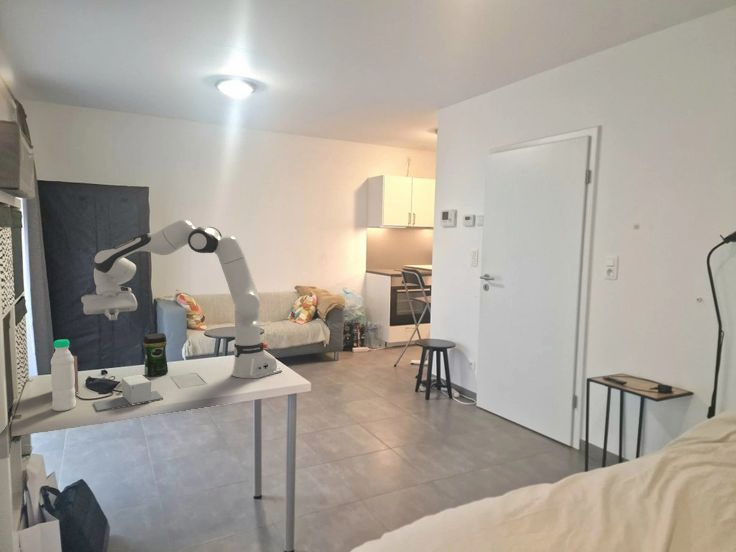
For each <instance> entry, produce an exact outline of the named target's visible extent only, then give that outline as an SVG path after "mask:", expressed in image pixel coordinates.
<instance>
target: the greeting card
mask: <svg viewBox="0 0 736 552" xmlns="http://www.w3.org/2000/svg"><path fill="white" fill-rule="evenodd" d="M72 356H73V358H74V362H73V364H74V373H75V385H74V387H75V392H78V393H77V394H79V375H78V373H79V371H78V356H77V355H72Z"/></svg>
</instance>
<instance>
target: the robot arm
mask: <svg viewBox="0 0 736 552" xmlns="http://www.w3.org/2000/svg"><path fill="white" fill-rule="evenodd" d="M239 242H240V241H239V240H238V239H237V238H236V237H235V236H233V235H225V236H223V235H222V234H221V232H220V230H218V228H216V227H213V226H198V227H195V226H194V223H192V222H191V221H189V220H187V219H180V220H177V221H175V222H172V223H170V224H168V225H166V226H164V227H163V228H162V229H159V230H157V231H154V232H149V233H141V234H139V235H135V236H134V237H131V238H129V239H127V240H125V241H122V242H120V243H118V244H116V245H114V246H111V247H107V248H104V249H102V250H99V251H98V252H97V253H96V254H95V255H94V257H93V265H94V269H93V279H94V284H95V286H96V287H95V292H96V293H94V294H84V295H83V296H81V297H80V302H81V303H82V304H83V311H82V312H83V314H85V315H97V314H98V315H100V314H104V315H105V317H107V318H108V320H109V321H118V315H119V313H123V312H135V311H136V310H137V309H138V301H137V298H136V296H135V295H134V293H132V288H131V287H127V286H123V284H126V283H128V282H129V281H132V280H133V279H134V278H135V277H136V274H137V270H138V269H137V265H136V264H135V263H134V262H132V261H131V260H129V259H127V258H125V257H128V256H130V255H131V254H135V253H137V252H148V253H152V254H156V255H160V256H168V255H171V254H174V253H175V252H176V251H178V250H180V249H181V248H183V247H185V246H187V245H188V246H189V247H190V249H191V250H192V251H194V252H196V253H200V254H213V253H214V254H215V255H216V256H217V258H218V260H219V264H220V266H221V269H222V272H223V274H224V278H225V280H226V283H227V287H228V290H229V292H230V296H231V298H232V301H233V304H234V344H233V345H234V348H233V354H234V355H233V356H234V361H233V362H234V363H233V368H232V372H231V376H233V377H236V378H242V379H244V378H245V379H247V378H248V379H259V378H264V377H267V376H271V375H275V374H278V373H282V372H283V369H282V367H281V366H279V365H278V364H277V363H278V362H277V359H276V358H275V356H274V355H272V354H271V353H269V352H268V351H266V350H265V349H267V348H268V347H269V344H267V343H265V342H262V341H261V322H260V321H261V320H260V317H261V316H260V307H261V298H260V295H259V292H258V289H257V287H256V284H255V281H254V279H253V275H252V273H251V270H250V268H249V264H248V262H247V258H246V256H245V253H244V251H243V248H242V246H241V245H240V243H239ZM111 313H114V314H111Z"/></svg>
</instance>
